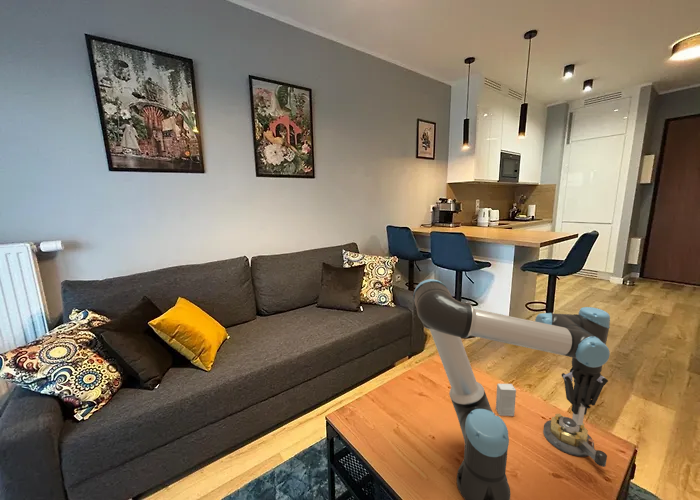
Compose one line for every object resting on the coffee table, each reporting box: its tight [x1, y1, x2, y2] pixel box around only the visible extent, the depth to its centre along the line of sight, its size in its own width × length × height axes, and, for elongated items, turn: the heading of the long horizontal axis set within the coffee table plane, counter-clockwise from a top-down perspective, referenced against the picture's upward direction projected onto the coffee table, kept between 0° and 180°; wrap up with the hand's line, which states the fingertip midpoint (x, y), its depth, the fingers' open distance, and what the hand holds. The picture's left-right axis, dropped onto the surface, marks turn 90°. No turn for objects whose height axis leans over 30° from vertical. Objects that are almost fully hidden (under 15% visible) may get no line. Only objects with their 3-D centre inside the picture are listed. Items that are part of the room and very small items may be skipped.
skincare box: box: [495, 383, 517, 417], centre depth 124 cm, size 6×4×12 cm
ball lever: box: [550, 413, 608, 468], centre depth 106 cm, size 19×11×4 cm, turn 7°
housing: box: [542, 416, 595, 458], centre depth 110 cm, size 15×15×8 cm
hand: (577, 421), depth 99 cm, fingers closed
